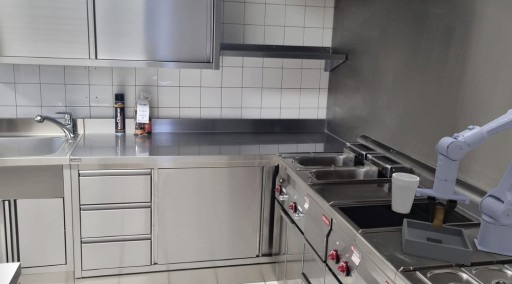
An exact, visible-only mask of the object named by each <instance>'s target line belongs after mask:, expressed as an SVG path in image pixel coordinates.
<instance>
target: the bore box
mask: <svg viewBox="0 0 512 284" xmlns="http://www.w3.org/2000/svg"><path fill="white" fill-rule="evenodd" d="M401 239H402V240H401V241H402V242H401V243H402V254H407V255H411V256H416V257H421V258H427V259H432V260H437V261H442V262H448V263H452V264H457V263H458V265H462V264H464V266H469V267H470V266H471V263H472V259H473V253H474V250H473V247H472V245H471V243H470V240H469V238H468V236H467V232H466V231H465V229H464V228H463V227H462V228H460V227H457V226H456V227H455V226H449V225H445V224H443V227H442V228H441V229H438V228H434V227H432V222H426V221H421V220H416V219H409V218H403V223H402V228H401Z"/></svg>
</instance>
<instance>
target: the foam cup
mask: <svg viewBox="0 0 512 284" xmlns="http://www.w3.org/2000/svg"><path fill="white" fill-rule="evenodd" d="M419 185H420V177H419V176H417V175H414V174H411V173H405V172H395V173H392V175H391V210H392V211H394V212H396V213H399V214H410V212H411V209H412V205H413V203H414V198H415V196H416V190H417V188H419Z"/></svg>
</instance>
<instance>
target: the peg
mask: <svg viewBox="0 0 512 284" xmlns="http://www.w3.org/2000/svg"><path fill="white" fill-rule="evenodd" d="M445 209H446V207H444V206H441V205H436V206H435V211H434V219H433V222H431V223H432V227H434V228H438V229H441V228H442V227H443V225H444V224H443V221H444V215H445Z"/></svg>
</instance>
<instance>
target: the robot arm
mask: <svg viewBox="0 0 512 284" xmlns="http://www.w3.org/2000/svg"><path fill="white" fill-rule="evenodd" d="M510 129H512V108H511V109H508V110H507V112H506V113H504V114H503V115H501V116H499V117H497V118H496V119H493V120H492V121H490V122H488V123H486V124H484V125H482V126H481V127H480V126H478V125H469V126H467V129H465V130H463V131H461V132H459V133H454V134H453V135H452V136H451V137H450V136H444V137H442V138H441V139H439V140H438V142H437V144H436V145H435V151H436V153H437V162H436V163H437V164H436V169H435V175H434V181H433V187H432V188H419V187H417V190H416V193H415V196H416V197H426V202H427V204H428V207H429V223H432V222H433V219H434V211H435V206H437V199H438V200H439V199H440V200H445V208H446V209H445V215H444V221H443V225H444V226H447V222H448V220H449V218H450V217H451V214H452V213H453V212H454V211H455V210H456V208H457V207H458V203H464V204H465V205H469V204H470V200H471V197H470V195H464V194H461V193H456V192H455V188H456V187H455V186H456V182H457V177H458V170H459V166H460V165H459V164H460V160H462V159H464V157H465V156H466V154H467V153H468V152H469V151H471V150H473V149H476V148H478V147H480V146H482V145H484V144H486V143H487V139H488V138H490V137H493V136H495V135H497V134H499V133H500V134H501V133H502V132H505V131H507V130H510ZM478 210H479V211H480V213H481V214H480V216H481V221H480V226H479V231H478V237H477V239H476V238H473V242H474V244H475V247H476V248H477V250H478V251H482V252H486V253H487V252H488V253H494V254H499V255H505V256H510V257H512V160H511V161H510V163H508V167H507V168H506V170H505V172H504V173H503V176H502V177H501V179H500V181H499V182H498V184H497V186H496V187H494V188H491V189H489V190H488V191H487V193H486V194H485V196H483V197H482V198H481V199H479V203H478Z"/></svg>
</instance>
